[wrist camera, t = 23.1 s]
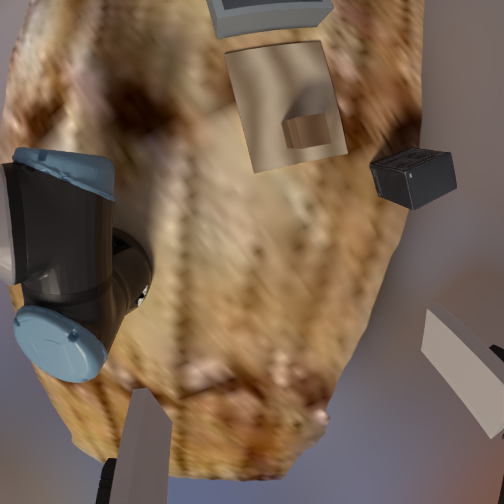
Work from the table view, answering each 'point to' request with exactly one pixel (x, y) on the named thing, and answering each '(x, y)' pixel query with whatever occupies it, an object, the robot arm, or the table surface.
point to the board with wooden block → (286, 104)
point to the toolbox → (265, 15)
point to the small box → (414, 177)
